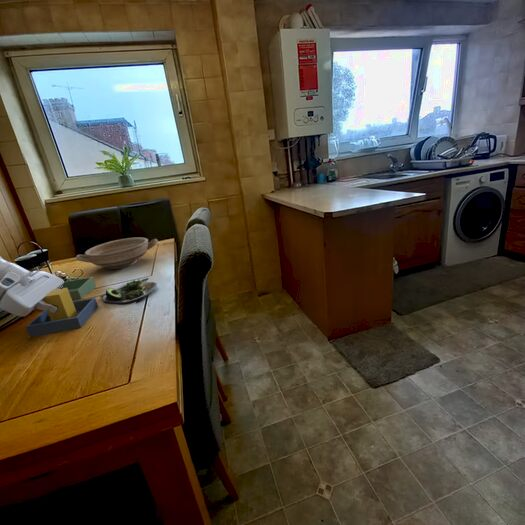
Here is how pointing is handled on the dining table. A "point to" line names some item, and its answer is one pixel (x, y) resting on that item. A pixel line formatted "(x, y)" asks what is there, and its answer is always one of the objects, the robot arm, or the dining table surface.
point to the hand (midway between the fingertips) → (62, 305)
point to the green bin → (79, 287)
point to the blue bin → (46, 326)
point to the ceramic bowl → (118, 252)
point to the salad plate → (129, 292)
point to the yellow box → (60, 304)
